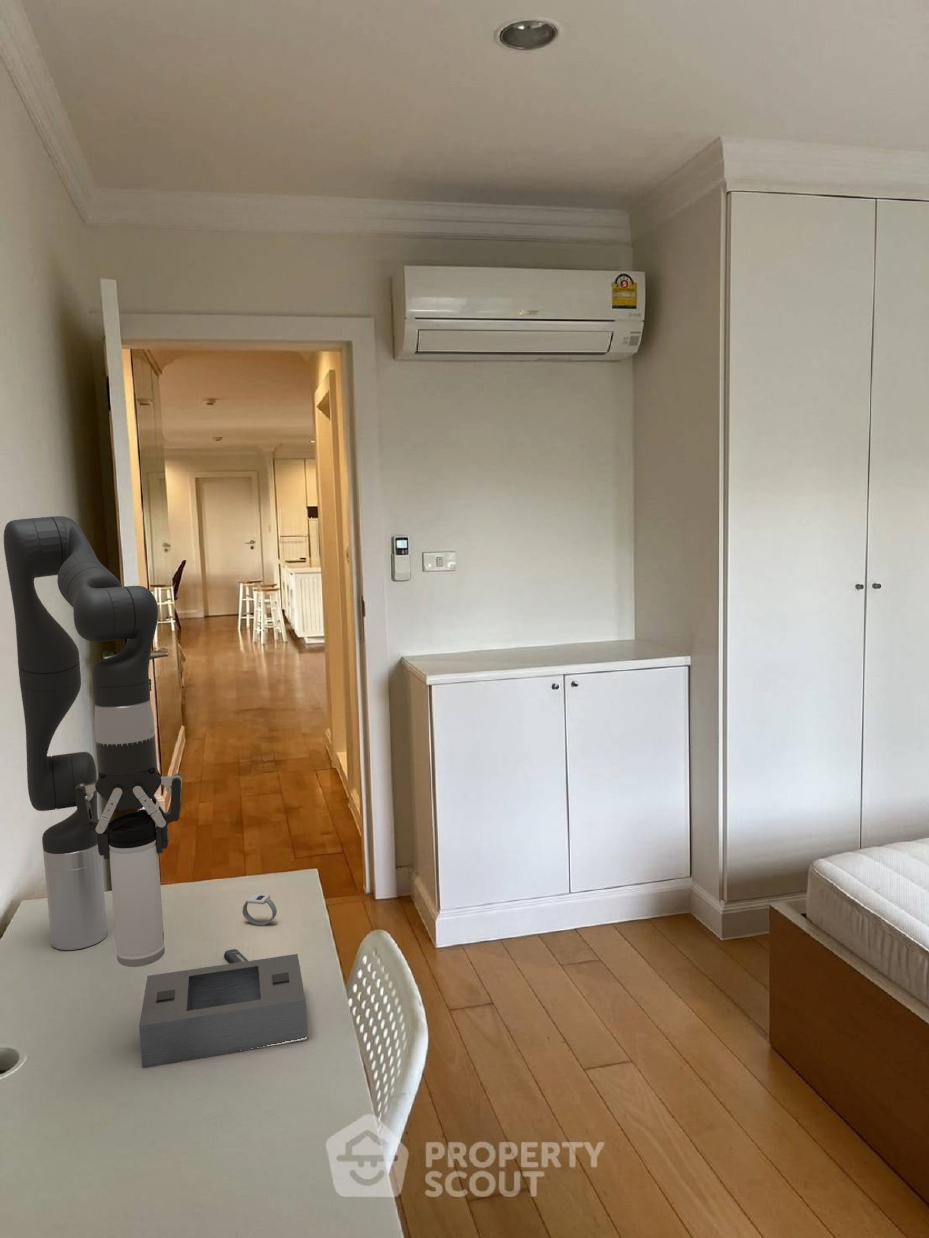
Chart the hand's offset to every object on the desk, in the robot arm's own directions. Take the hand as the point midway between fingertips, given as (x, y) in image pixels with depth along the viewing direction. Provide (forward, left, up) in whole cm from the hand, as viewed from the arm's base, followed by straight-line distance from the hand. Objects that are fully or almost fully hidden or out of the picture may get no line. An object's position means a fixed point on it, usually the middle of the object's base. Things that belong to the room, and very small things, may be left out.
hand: (134, 854), depth 127 cm
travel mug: (0, 0, -15) cm, 15 cm away
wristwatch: (-34, +17, -28) cm, 47 cm away
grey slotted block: (-1, +11, -28) cm, 30 cm away
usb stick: (-20, +13, -28) cm, 37 cm away
